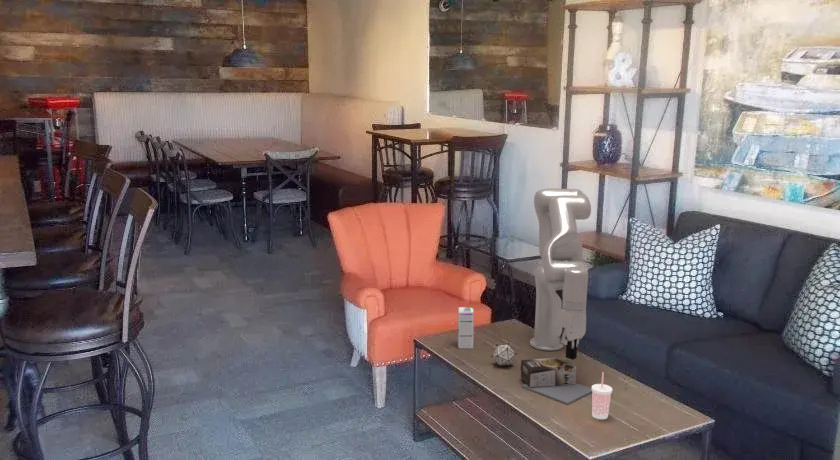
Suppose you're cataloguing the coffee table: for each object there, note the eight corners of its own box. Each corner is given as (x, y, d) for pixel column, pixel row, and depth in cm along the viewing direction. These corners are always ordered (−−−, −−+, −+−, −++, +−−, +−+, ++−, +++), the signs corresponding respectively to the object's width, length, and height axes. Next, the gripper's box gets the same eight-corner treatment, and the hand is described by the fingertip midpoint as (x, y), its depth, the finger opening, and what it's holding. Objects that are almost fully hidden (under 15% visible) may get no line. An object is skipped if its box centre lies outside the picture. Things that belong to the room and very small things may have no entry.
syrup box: (473, 348, 272) (474, 311, 269) (457, 348, 272) (458, 311, 269) (472, 343, 278) (473, 307, 275) (457, 343, 278) (458, 306, 275)
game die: (507, 376, 256) (515, 362, 249) (485, 366, 257) (493, 351, 250) (514, 358, 262) (522, 343, 255) (492, 348, 263) (500, 333, 256)
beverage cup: (605, 410, 222) (608, 367, 219) (613, 419, 216) (617, 375, 214) (586, 411, 221) (589, 368, 218) (594, 421, 215) (597, 376, 213)
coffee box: (576, 366, 238) (530, 369, 235) (575, 384, 240) (529, 388, 236) (565, 356, 247) (520, 359, 243) (564, 373, 248) (519, 377, 245)
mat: (549, 375, 249) (549, 373, 249) (594, 391, 236) (594, 389, 236) (521, 387, 238) (521, 385, 238) (567, 404, 226) (567, 403, 226)
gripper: (577, 297, 244) (574, 349, 248) (551, 306, 234) (548, 360, 237) (596, 302, 239) (593, 355, 242) (570, 312, 228) (567, 367, 232)
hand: (570, 358), depth 240 cm, fingers closed
